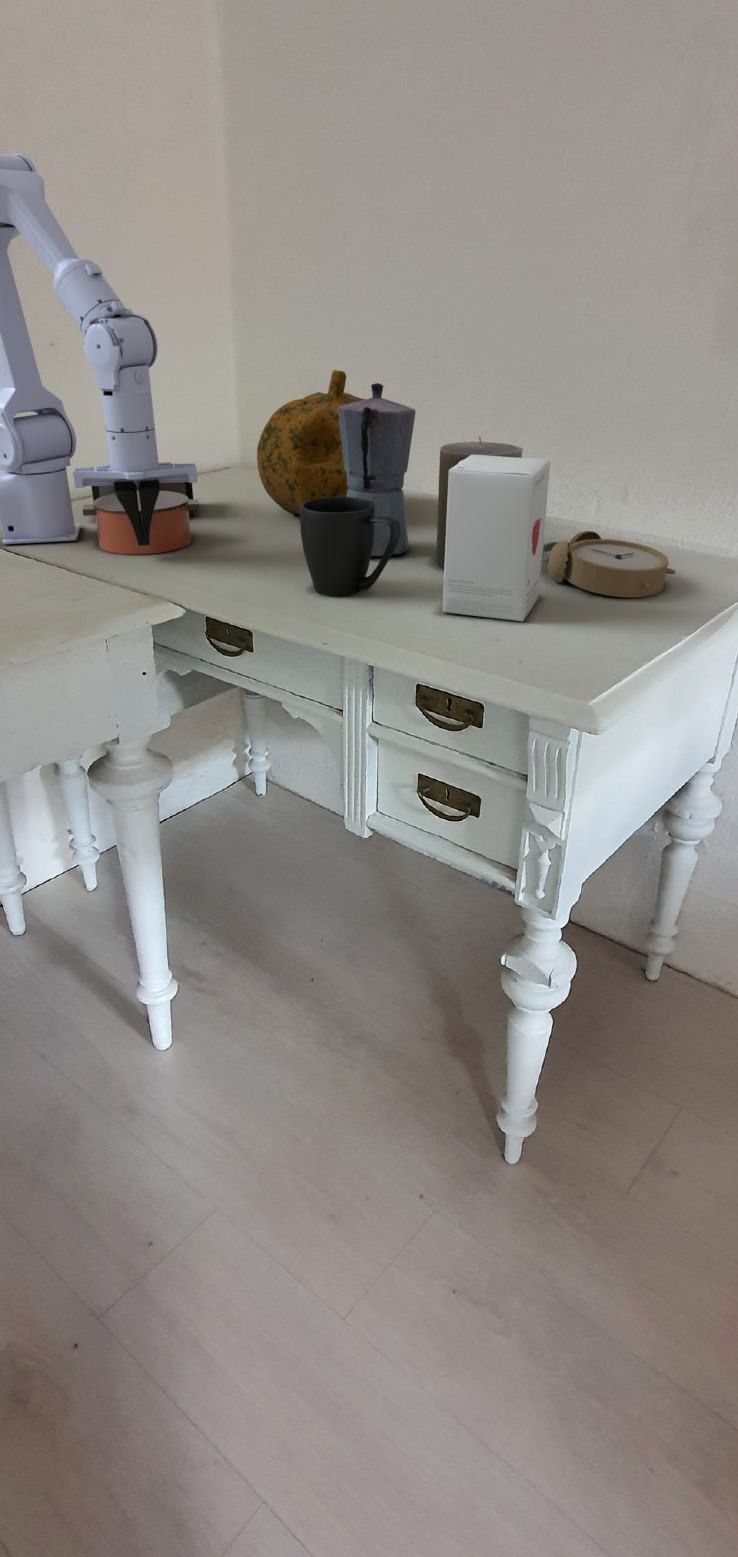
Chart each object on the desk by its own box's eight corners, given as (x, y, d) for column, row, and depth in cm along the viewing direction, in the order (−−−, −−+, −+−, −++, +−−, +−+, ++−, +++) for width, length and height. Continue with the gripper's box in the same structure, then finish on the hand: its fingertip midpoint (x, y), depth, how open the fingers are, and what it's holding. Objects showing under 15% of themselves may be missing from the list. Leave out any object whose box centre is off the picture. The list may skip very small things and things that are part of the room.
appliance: (96, 522, 138) (89, 473, 135) (99, 508, 146) (92, 461, 143) (195, 517, 141) (190, 469, 137) (192, 503, 148) (188, 457, 145)
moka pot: (415, 536, 131) (419, 377, 121) (408, 569, 117) (411, 393, 107) (345, 535, 131) (343, 376, 122) (330, 567, 118) (326, 392, 108)
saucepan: (86, 557, 122) (79, 513, 119) (90, 534, 133) (84, 493, 130) (204, 550, 125) (200, 507, 122) (199, 528, 135) (196, 487, 133)
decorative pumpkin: (246, 496, 149) (250, 355, 139) (377, 499, 154) (389, 364, 144) (267, 533, 132) (273, 376, 122) (413, 536, 138) (430, 386, 128)
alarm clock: (647, 579, 103) (526, 533, 110) (633, 621, 106) (517, 574, 112) (686, 555, 111) (571, 514, 118) (672, 595, 114) (561, 552, 120)
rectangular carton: (524, 623, 100) (536, 474, 93) (440, 614, 102) (445, 468, 95) (541, 597, 107) (553, 457, 100) (462, 589, 110) (468, 452, 103)
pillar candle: (448, 577, 114) (452, 444, 107) (427, 555, 123) (430, 430, 115) (526, 572, 116) (536, 441, 109) (501, 550, 124) (508, 428, 117)
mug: (373, 611, 103) (373, 521, 99) (287, 591, 110) (284, 506, 105) (416, 592, 109) (418, 506, 105) (332, 574, 115) (330, 492, 111)
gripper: (64, 436, 110) (82, 555, 116) (193, 432, 112) (203, 548, 119) (69, 427, 116) (85, 540, 122) (191, 423, 118) (201, 534, 125)
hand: (143, 543), depth 121 cm, fingers closed, pressing on saucepan
